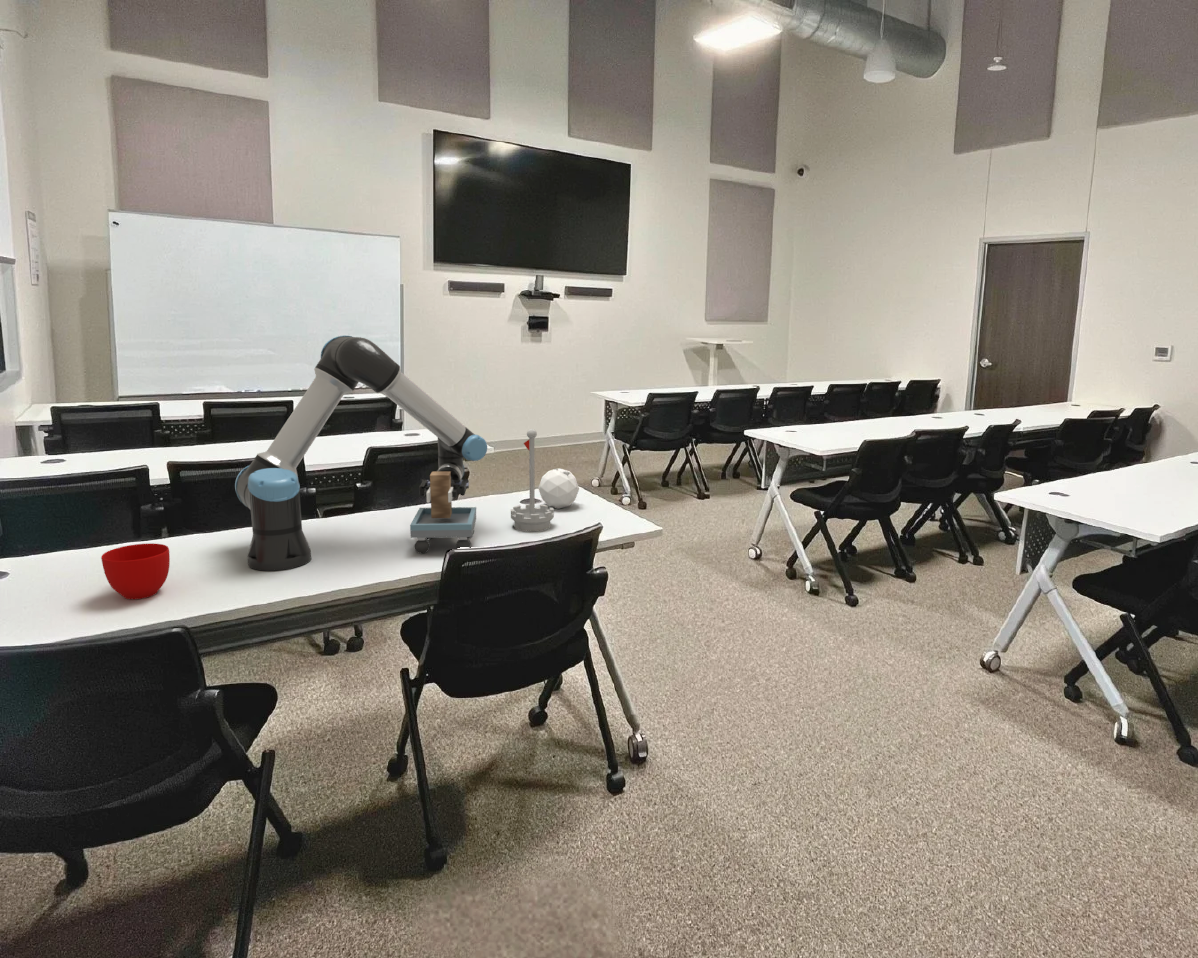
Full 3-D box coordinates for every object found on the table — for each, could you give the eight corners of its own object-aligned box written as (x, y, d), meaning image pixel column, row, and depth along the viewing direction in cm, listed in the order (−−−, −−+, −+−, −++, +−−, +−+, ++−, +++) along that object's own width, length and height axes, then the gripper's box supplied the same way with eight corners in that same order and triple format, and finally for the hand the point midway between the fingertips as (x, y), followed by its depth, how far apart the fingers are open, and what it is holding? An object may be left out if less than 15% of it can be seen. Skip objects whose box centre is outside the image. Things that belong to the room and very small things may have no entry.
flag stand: (561, 528, 226) (562, 430, 219) (523, 534, 219) (523, 433, 212) (540, 518, 236) (539, 424, 230) (503, 524, 229) (502, 427, 223)
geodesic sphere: (595, 490, 250) (575, 455, 252) (574, 498, 239) (552, 462, 240) (567, 510, 258) (547, 477, 259) (544, 519, 246) (523, 484, 248)
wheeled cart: (411, 555, 198) (410, 525, 196) (420, 536, 216) (419, 507, 214) (472, 554, 200) (471, 524, 198) (476, 535, 217) (476, 507, 215)
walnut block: (431, 518, 203) (429, 475, 201) (433, 513, 208) (432, 471, 205) (450, 518, 204) (448, 475, 201) (451, 513, 209) (450, 471, 206)
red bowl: (160, 575, 181) (156, 536, 179) (180, 595, 169) (175, 553, 167) (97, 588, 172) (92, 546, 170) (113, 609, 160) (108, 565, 158)
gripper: (478, 490, 224) (473, 510, 201) (417, 491, 222) (405, 511, 199) (478, 466, 222) (472, 483, 199) (416, 466, 220) (403, 484, 198)
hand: (438, 497), depth 199 cm, fingers closed on walnut block, 5 cm apart
